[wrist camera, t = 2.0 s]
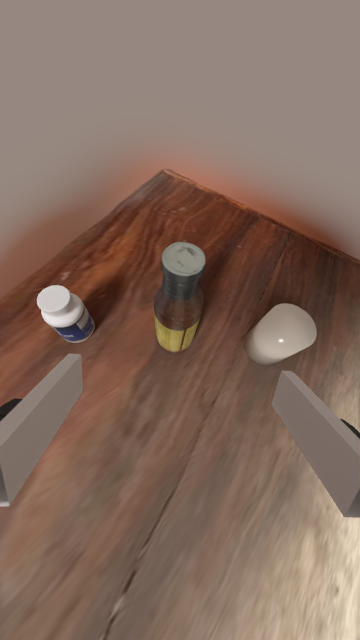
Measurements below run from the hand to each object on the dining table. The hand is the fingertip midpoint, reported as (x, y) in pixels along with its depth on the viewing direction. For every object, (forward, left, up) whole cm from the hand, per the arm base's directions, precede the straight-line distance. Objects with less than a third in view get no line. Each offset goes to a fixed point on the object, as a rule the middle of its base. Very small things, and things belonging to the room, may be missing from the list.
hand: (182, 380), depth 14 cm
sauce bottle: (-9, -5, -20) cm, 23 cm away
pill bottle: (-1, -19, -20) cm, 28 cm away
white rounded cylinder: (-17, +9, -20) cm, 28 cm away
